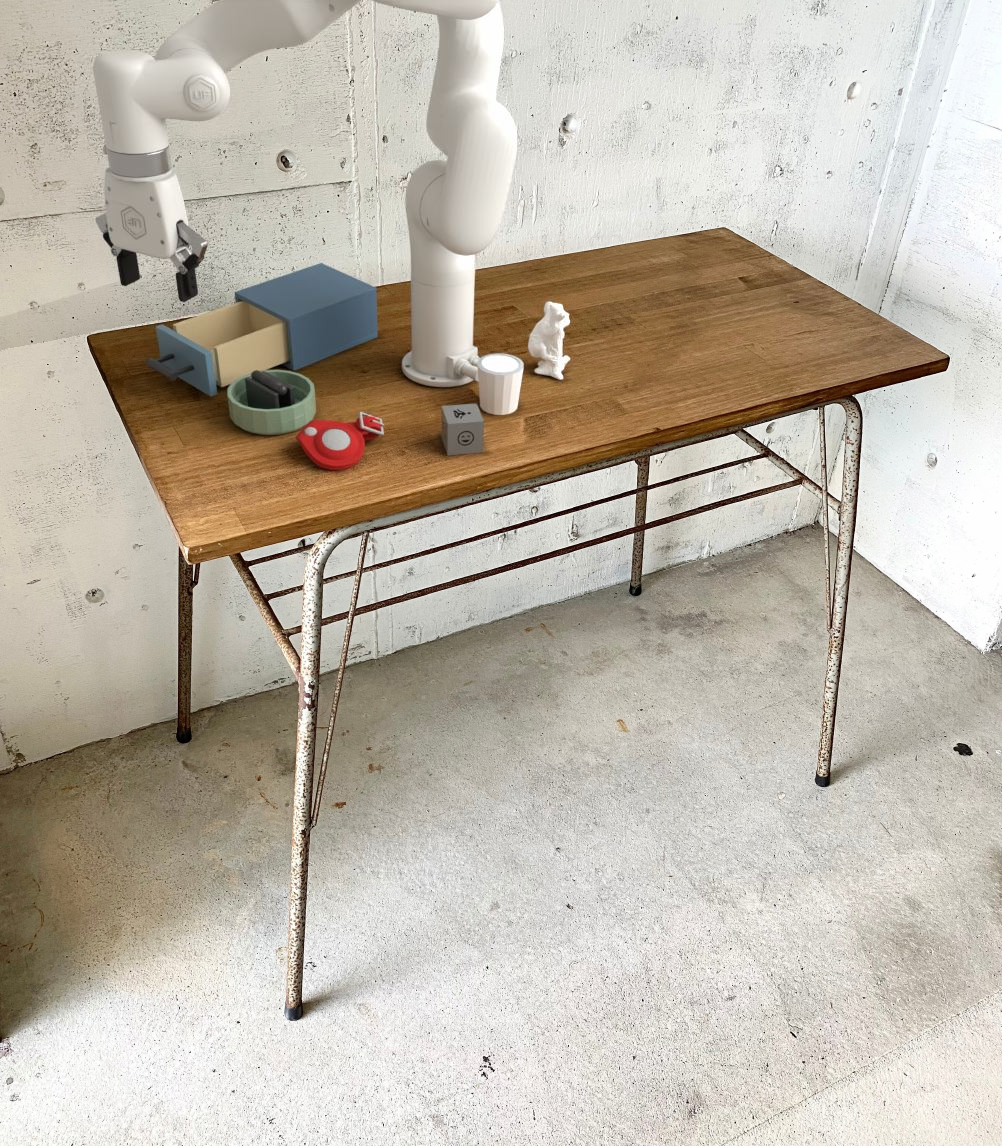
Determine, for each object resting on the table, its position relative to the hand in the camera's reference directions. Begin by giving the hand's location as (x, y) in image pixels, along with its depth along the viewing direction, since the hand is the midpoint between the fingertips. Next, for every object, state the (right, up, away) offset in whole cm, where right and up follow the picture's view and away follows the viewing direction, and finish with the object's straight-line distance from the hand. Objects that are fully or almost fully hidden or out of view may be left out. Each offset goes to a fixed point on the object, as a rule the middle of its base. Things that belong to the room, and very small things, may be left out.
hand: (159, 290), depth 147 cm
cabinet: (+15, 0, +31) cm, 35 cm away
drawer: (+3, -7, +20) cm, 22 cm away
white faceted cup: (+46, -13, +17) cm, 50 cm away
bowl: (+13, -15, +12) cm, 23 cm away
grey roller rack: (+13, -15, +11) cm, 22 cm away
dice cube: (+40, -20, +8) cm, 46 cm away
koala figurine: (+54, -6, +26) cm, 60 cm away
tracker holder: (+24, -21, +5) cm, 33 cm away
